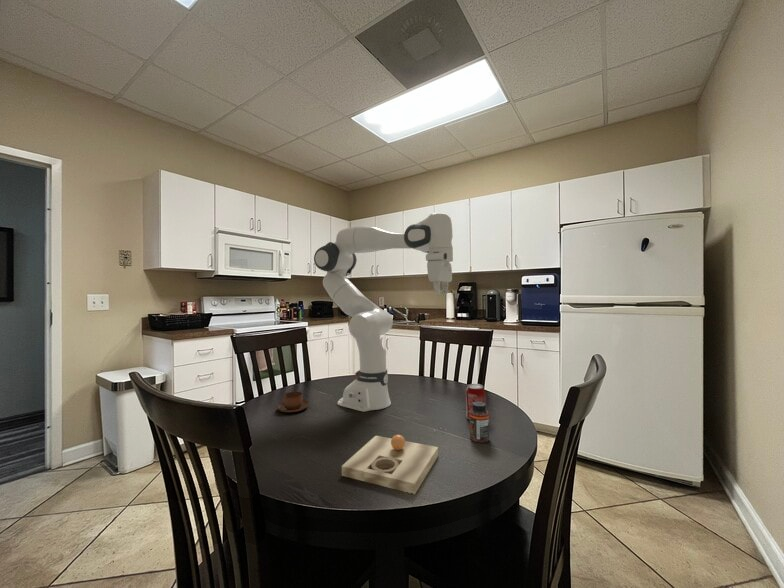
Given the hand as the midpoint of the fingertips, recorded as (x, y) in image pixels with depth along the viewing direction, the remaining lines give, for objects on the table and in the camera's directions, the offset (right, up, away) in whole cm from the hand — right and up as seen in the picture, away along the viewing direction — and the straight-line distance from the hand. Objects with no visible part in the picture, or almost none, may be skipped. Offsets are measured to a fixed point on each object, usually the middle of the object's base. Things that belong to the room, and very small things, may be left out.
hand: (441, 294), depth 122 cm
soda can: (+12, -46, -3) cm, 47 cm away
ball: (-17, -42, -30) cm, 54 cm away
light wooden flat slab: (-18, -46, -33) cm, 60 cm away
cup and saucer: (-58, -47, +11) cm, 76 cm away
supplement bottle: (+9, -46, -19) cm, 50 cm away
